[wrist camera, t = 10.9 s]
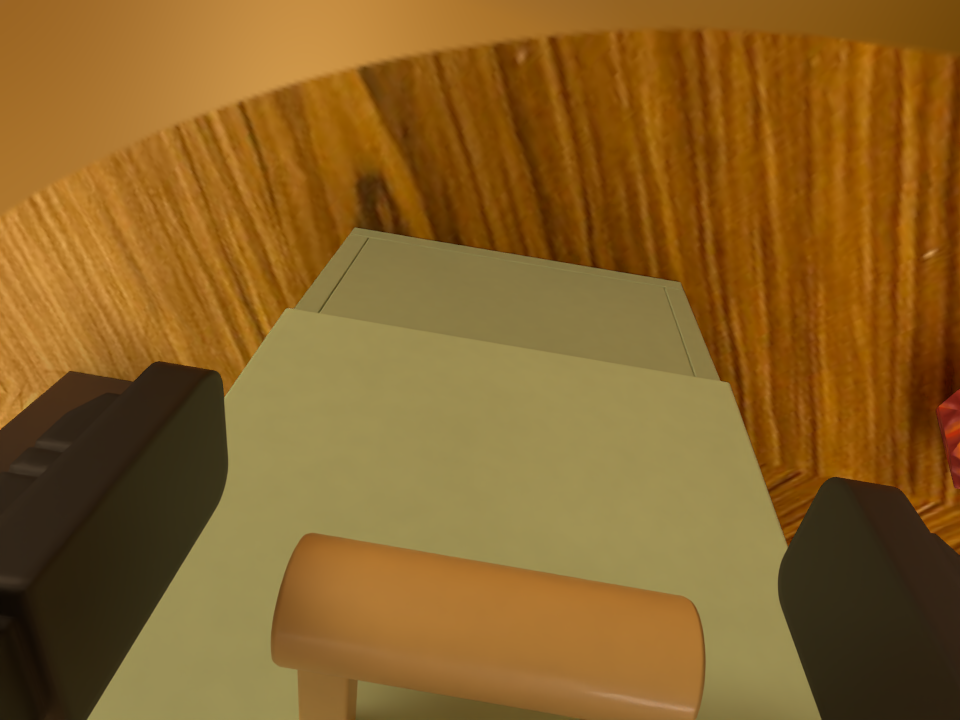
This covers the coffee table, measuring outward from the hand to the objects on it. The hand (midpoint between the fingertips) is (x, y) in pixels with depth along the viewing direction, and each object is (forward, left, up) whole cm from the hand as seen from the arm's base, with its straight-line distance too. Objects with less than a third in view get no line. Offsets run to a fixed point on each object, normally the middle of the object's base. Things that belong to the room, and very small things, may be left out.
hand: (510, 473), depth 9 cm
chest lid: (0, -5, -4) cm, 6 cm away
